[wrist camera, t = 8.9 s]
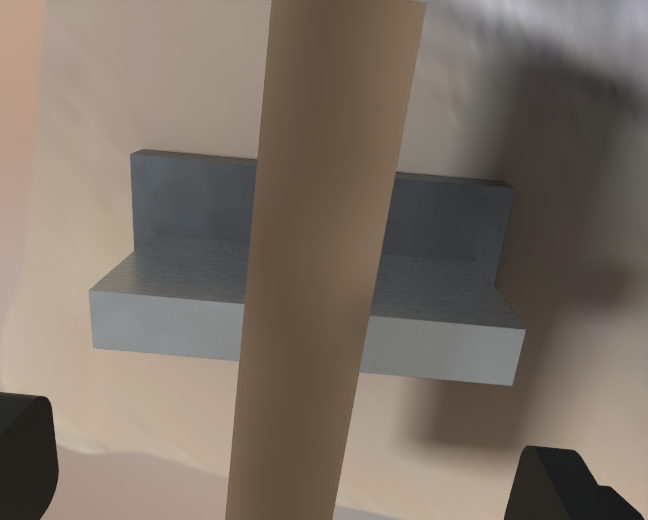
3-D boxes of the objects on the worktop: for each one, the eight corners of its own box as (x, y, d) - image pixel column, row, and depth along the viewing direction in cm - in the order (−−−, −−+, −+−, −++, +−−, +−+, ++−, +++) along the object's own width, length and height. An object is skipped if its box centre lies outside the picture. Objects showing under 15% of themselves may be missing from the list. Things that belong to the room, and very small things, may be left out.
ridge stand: (505, 182, 26) (579, 232, 18) (469, 358, 29) (517, 467, 21) (141, 149, 26) (51, 185, 18) (148, 329, 29) (75, 427, 21)
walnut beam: (406, 18, 16) (426, 2, 12) (313, 558, 23) (307, 652, 19) (290, 2, 15) (273, -20, 12) (235, 547, 23) (214, 641, 19)
